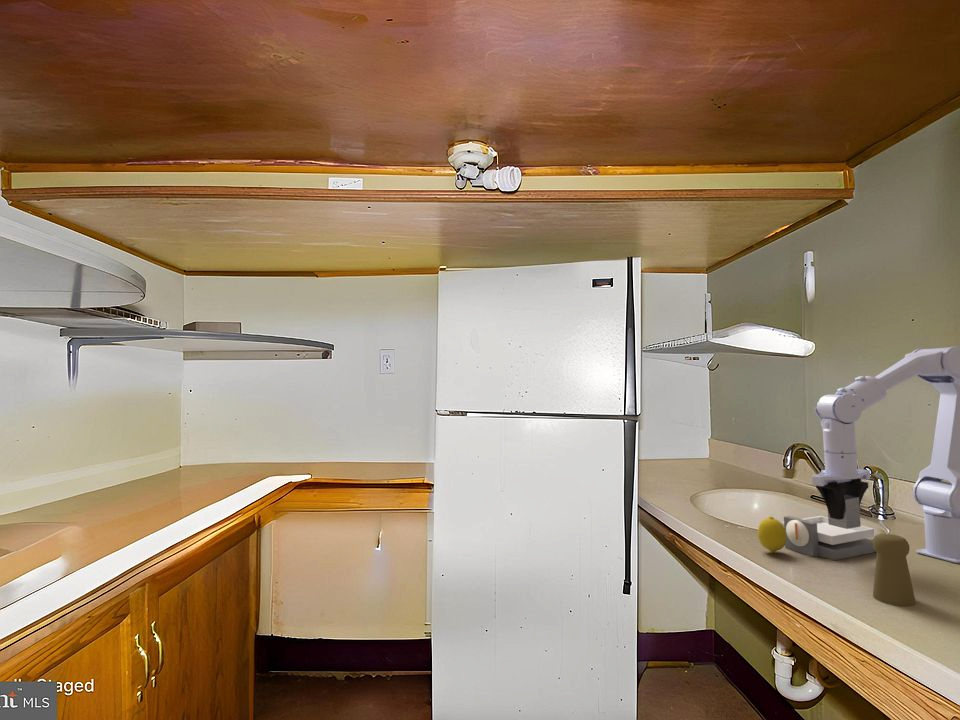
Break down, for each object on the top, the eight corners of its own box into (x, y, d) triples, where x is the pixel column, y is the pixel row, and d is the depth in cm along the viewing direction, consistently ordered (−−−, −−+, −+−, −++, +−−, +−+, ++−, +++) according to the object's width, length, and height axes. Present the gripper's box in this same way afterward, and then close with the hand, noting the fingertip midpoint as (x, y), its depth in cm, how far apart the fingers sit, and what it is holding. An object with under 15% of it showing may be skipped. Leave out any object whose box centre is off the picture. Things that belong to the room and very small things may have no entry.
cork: (874, 589, 100) (870, 528, 101) (916, 597, 97) (912, 533, 97) (871, 600, 96) (867, 537, 96) (915, 609, 92) (911, 542, 92)
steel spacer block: (842, 522, 117) (840, 493, 118) (860, 526, 114) (858, 497, 114) (828, 524, 116) (826, 495, 116) (846, 529, 112) (845, 499, 113)
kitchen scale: (821, 534, 134) (819, 505, 134) (879, 551, 121) (878, 518, 121) (770, 543, 129) (769, 513, 129) (826, 561, 115) (824, 528, 116)
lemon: (771, 547, 126) (769, 512, 126) (793, 554, 121) (791, 517, 121) (753, 551, 124) (751, 515, 124) (774, 558, 119) (772, 521, 119)
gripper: (845, 447, 122) (849, 508, 121) (797, 452, 117) (801, 517, 116) (878, 450, 115) (882, 516, 115) (828, 456, 110) (832, 525, 110)
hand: (843, 517), depth 115 cm, fingers closed on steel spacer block, 4 cm apart
